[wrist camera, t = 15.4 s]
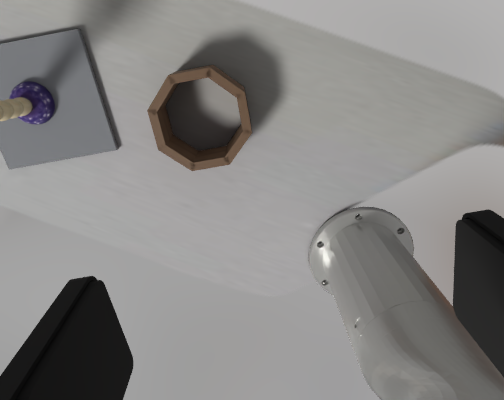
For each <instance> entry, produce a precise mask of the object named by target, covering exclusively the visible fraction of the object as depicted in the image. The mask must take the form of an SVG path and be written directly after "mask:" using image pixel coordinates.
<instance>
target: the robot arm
mask: <svg viewBox="0 0 504 400" xmlns="http://www.w3.org/2000/svg"><path fill="white" fill-rule="evenodd" d="M357 214H358V215H357ZM356 215H357V216H356ZM319 241H321V242H319ZM413 251H414V247H413V240H412V237H411V235H410V232H409V230H408V229H407V227H406V226H405V225H404V224H403V223H402V222H401V221H400V219H398V218H397V217H396V216H395V215H393V214H392V213H390V212H387V211H385V210H383V209H379V208H374V207H359V208H353V209H349V210H346V211H343V212H341V213H339V214H337V215H335V216H333V217H332V218H331V219H329V220H328V221H327V222H325V224H324V225H323V226H322V227H321V228H320V229H319V230H318V232H317V233H316V235H315V236H314V238H313V240H312V243H311V245H310V250H309V264H310V268H311V272H312V274H313V277H314V279H315V280H316V282H317V283H318V284H319V285H320V286H321V287H322V288H323V289H324V290H325V291H326V292H328V293H330V294H331V295H334V298H335V301H336V303H337V306H338V309H339V312H340V314H341V317H342V320H343V323H344V325H345V328H346V330H347V333H348V336H349V338H350V342H351V344H352V347H353V350H354V353H355V355H356V358H357V361H358V363H359V366H360V368H361V371H362V374H363V376H364V378H365V380H366V382H367V383H368V385H369V386H370V388H371V389H372V391H373V392H374V393H375V394H376V395H377V396H378V397H379V398H380V399H381V400H504V218H502V217H501V216H499V215H497V214H496V213H495V212H493V211H491V210H484V211H477V212H471V213H466V214H464V215H463V217H462V220H458V221H457V223H456V236H455V265H454V292H453V306H452V305H451V304H450V302H449V301H448V300H447V299H446V297H445V296H444V295H443V294H442V293H441V291H440V290H439V289H438V288H437V286H436V285H435V284H434V283H433V281H432V280H431V279H430V278H429V276H428V275H427V274H426V273H425V271H424V270H423V269H422V268H421V267H420V265H419V264H418V263H417V261H416V260H415V259H414V258H413ZM132 369H133V357H132V354H131V351H130V349H129V346H128V343H127V341H126V338H125V336H124V333H123V331H122V328H121V325H120V323H119V320H118V318H117V315H116V313H115V310H114V308H113V305H112V303H111V300H110V297H109V295H108V292H107V290H106V287H105V285H104V283H103V282H102V281H101V280H98V281H97V279H96V278H95V277H93V276H89V277H83V278H77V279H72V280H70V281H69V282H68V283H67V284H66V285H65V287H64V288H63V290H62V291H61V292H60V294H59V295H58V297H57V298H56V299H55V301H54V302H53V303H52V305H51V306H50V308H49V309H48V310H47V312H46V313H45V315H44V316H43V317H42V319H41V320H40V322H39V323H38V324H37V326H36V327H35V329H34V330H33V331H32V333H31V334H30V336H29V337H28V339H27V340H26V341H25V343H24V344H23V345H22V347H21V348H20V349H19V351H18V352H17V354H16V355H15V357H14V358H13V359H12V361H11V362H10V363H9V365H8V366H7V368H6V369H5V370H4V372H3V373H2V374H1V376H0V400H123V397H124V394H125V391H126V388H127V385H128V382H129V379H130V375H131V373H132Z"/></svg>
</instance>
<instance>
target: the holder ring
mask: <svg viewBox="0 0 504 400" xmlns="http://www.w3.org/2000/svg"><path fill="white" fill-rule="evenodd" d="M207 77H208V78H210V79H211V80H212V81H214V82H215V83H217V84H218V85H220V86H221V87H222V88H224V89H225V90H227V91H228V92H229V93H231V94H232V95H234V96H235V97H237V101H238V106H239V112H240V117H241V123H242V124H241V125H240V127H239V128H238V130H237V131H236V133H235V134H234V135H233V137H232V138H231V140H230V141H229V143H228V144H227V146H222V147H217V148H211V149H205V150H200V151H198V150H196V149H195V148H193V147H192V146H190V145H188V144H187V143H185V142H184V141H182V140H181V139H179V138H178V137H176V136H175V135H173V132H172V128H171V124H170V121H169V117H168V113H167V109H166V104H167V102H168V100H169V99H170V97H171V95H172V94H173V92H174V90H175V89H176V87H177V85H178V84H179V83H181V82H186V81H191V80H197V79H202V78H207ZM147 111H148V115H149V118H150V122H151V125H152V129H153V132H154V136H155V140H156V143H157V147H158V150H159V151H161V152H163V153H164V154H166V155H167V156H169V157H171V158H172V159H174V160H175V161H177V162H178V163H180V164H182V165H183V166H185V167H186V168H188V169H190V170H191V171H195V170H201V169H207V168H212V167H218V166H224V165H229V164H230V163H231V162H232V161H233V159H234V158H235V156H236V155H237V153H238V152H239V151H240V149H241V148H242V146H243V145H244V143H245V142H246V141H247V139H248V138H249V136H250V135H251V134H252V130H251V122H250V116H249V111H248V105H247V100H246V94H245V88H244V87H243V86H242V85H241V84H239V83H238V82H236V81H235V80H234V79H232V78H231V77H229V76H228V75H227V74H225V73H224V72H223V71H221V70H220V69H218V68H217V67H216V66H214V65H209V66H203V67H198V68H193V69H188V70H182V71H177V72H174V73H172V74H170V75H168V77H167V78H166V80H165V82H164V83H163V85H162V87H161V88H160V90H159V92H158V93H157V95H156V97H155V99H154V100H153V102H152V104H151V105H150V107H149V109H148V110H147Z"/></svg>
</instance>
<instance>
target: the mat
mask: <svg viewBox="0 0 504 400" xmlns="http://www.w3.org/2000/svg"><path fill="white" fill-rule="evenodd" d="M27 81H32V82H36V83H38V84H41V85H42V86H44V87H45V88H46V89H47V90H48V91H49V92H50V93H51V95H52V97H53V99H54V102H55V111H54V114H53V116H52V117H51V119H50V120H49V121H47V122H46V123H43V124H29V123H26V122H24V121H22V120H20V119H19V118H18V117H17V118H13V119H8V120H6V121H0V150H1V152H2V155H3V157H4V159H5V161H6V164H7V166H8V168H9V169H14V168H20V167H26V166H31V165H37V164H42V163H48V162H53V161H59V160H64V159H70V158H75V157H81V156H86V155H92V154H97V153H103V152H108V151H114V150H117V149H118V146H117V143H116V140H115V137H114V134H113V130H112V127H111V124H110V121H109V118H108V115H107V112H106V109H105V105H104V102H103V99H102V96H101V93H100V90H99V87H98V84H97V80H96V77H95V74H94V71H93V68H92V65H91V62H90V59H89V55H88V52H87V49H86V46H85V43H84V40H83V37H82V34H81V30H80V29H74V30H69V31H64V32H59V33H54V34H49V35H44V36H38V37H33V38H28V39H23V40H18V41H13V42H8V43H3V44H0V100H2V101H4V100H6V99H9V97H10V94H11V91H12V90H13V89H14V87H15V86H17V85H18V84H20V83H22V82H27Z"/></svg>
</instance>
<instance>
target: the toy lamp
mask: <svg viewBox="0 0 504 400" xmlns="http://www.w3.org/2000/svg"><path fill="white" fill-rule="evenodd" d="M54 111H55V102H54V99H53V97H52V95H51V93H50V92H49V91H48V90H47V89H46V88H45V87H44V86H42V85H41V84H38V83H36V82H32V81H27V82H22V83H20V84H18V85H17V86H15V87H14V89H13V90H12V91H11V94H10V97H9V99H6V100H4V101H2V100H0V121H6V120H8V119H13V118H17V117H18V118H19V119H20V120H22V121H24V122H26V123H29V124H43V123H46V122H47V121H49V120H50V119H51V117H52V116H53V114H54Z"/></svg>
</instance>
